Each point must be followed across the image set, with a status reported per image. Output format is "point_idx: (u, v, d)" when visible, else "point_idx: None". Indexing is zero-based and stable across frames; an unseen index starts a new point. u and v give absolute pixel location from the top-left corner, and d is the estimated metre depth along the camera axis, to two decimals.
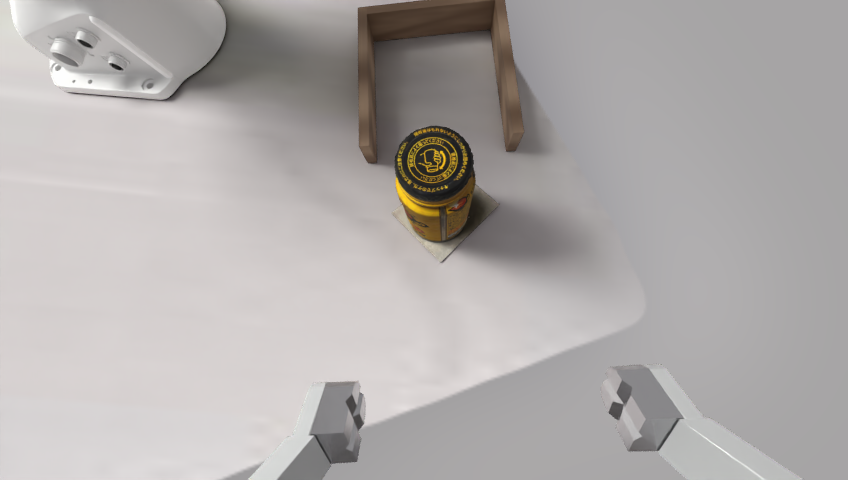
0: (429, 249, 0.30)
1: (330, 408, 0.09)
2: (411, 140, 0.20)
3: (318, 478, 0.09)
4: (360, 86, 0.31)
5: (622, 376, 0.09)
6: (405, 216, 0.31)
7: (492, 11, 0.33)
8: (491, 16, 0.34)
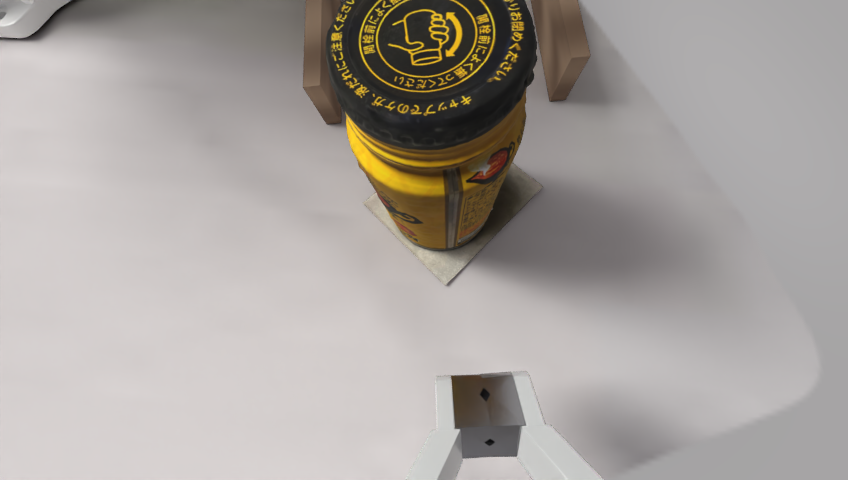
0: (425, 263, 0.18)
1: (466, 401, 0.09)
2: None
3: (455, 473, 0.08)
4: None
5: (485, 383, 0.09)
6: (386, 208, 0.19)
7: None
8: None
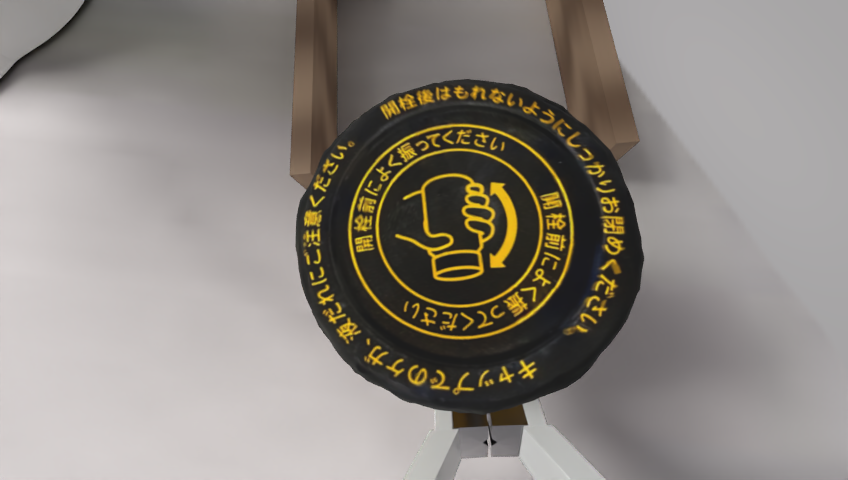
0: None
1: None
2: (370, 135, 0.05)
3: (453, 473, 0.08)
4: (298, 55, 0.16)
5: None
6: None
7: None
8: None
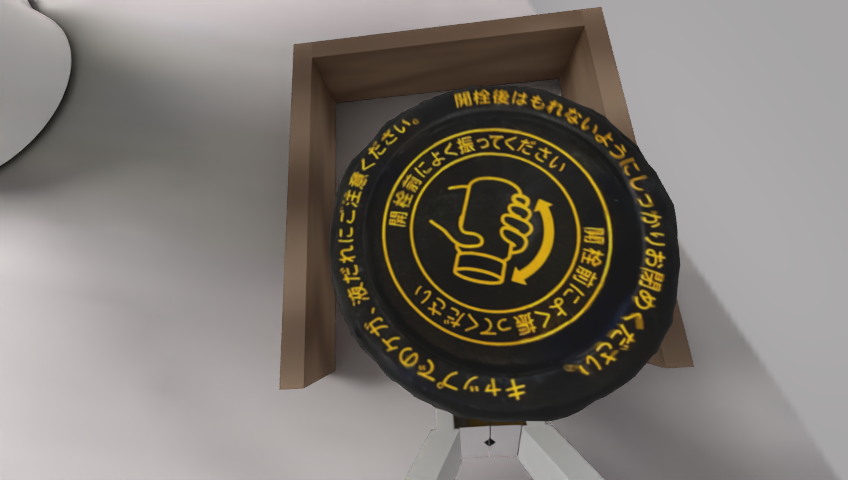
0: None
1: None
2: (435, 118, 0.05)
3: (455, 473, 0.08)
4: (290, 226, 0.14)
5: None
6: None
7: (571, 46, 0.16)
8: (567, 56, 0.17)
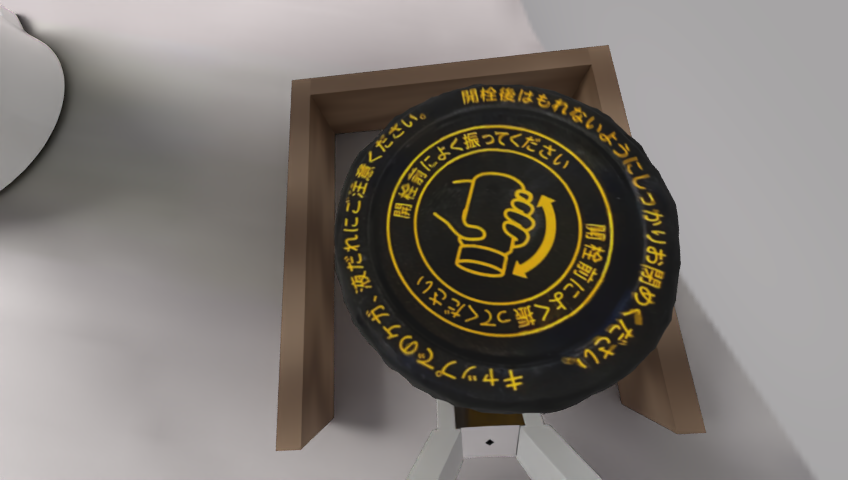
0: None
1: None
2: (442, 114, 0.05)
3: (456, 473, 0.08)
4: (288, 275, 0.13)
5: None
6: None
7: (577, 83, 0.16)
8: (573, 92, 0.16)
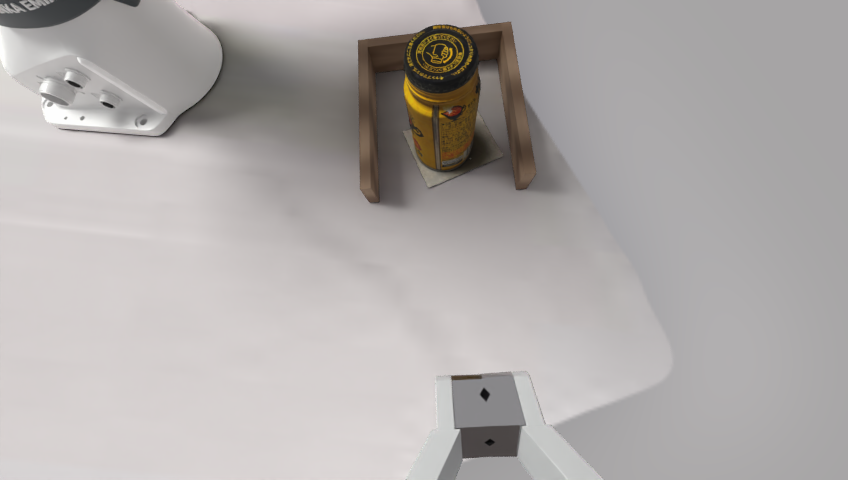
0: (422, 173, 0.31)
1: (466, 401, 0.09)
2: (428, 31, 0.21)
3: (455, 473, 0.08)
4: (361, 124, 0.29)
5: (485, 383, 0.09)
6: (413, 138, 0.32)
7: (499, 41, 0.32)
8: (498, 46, 0.32)
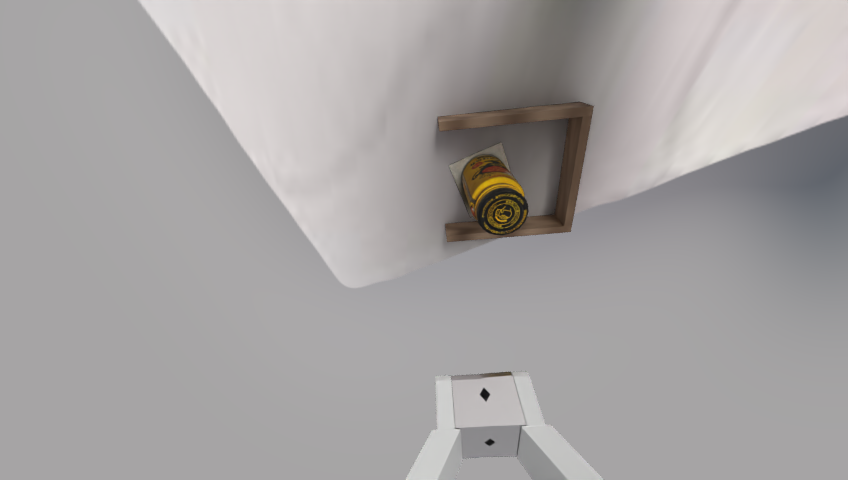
0: (461, 160, 0.39)
1: (466, 401, 0.09)
2: (522, 207, 0.30)
3: (455, 473, 0.08)
4: (499, 117, 0.33)
5: (485, 383, 0.09)
6: (493, 152, 0.39)
7: (560, 221, 0.41)
8: (559, 219, 0.42)
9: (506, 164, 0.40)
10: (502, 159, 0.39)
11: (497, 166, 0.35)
